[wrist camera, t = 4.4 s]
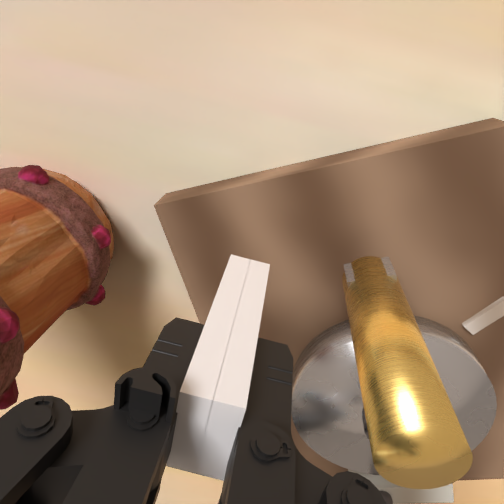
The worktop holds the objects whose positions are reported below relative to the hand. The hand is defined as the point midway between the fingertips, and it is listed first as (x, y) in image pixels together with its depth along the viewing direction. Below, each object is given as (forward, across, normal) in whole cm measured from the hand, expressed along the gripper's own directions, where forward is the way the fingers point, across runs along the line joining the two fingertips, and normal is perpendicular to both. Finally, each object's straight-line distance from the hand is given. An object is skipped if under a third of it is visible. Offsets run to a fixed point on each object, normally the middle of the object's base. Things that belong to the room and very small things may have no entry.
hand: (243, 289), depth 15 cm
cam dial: (+6, +9, -6) cm, 12 cm away
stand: (+8, +7, -7) cm, 13 cm away
